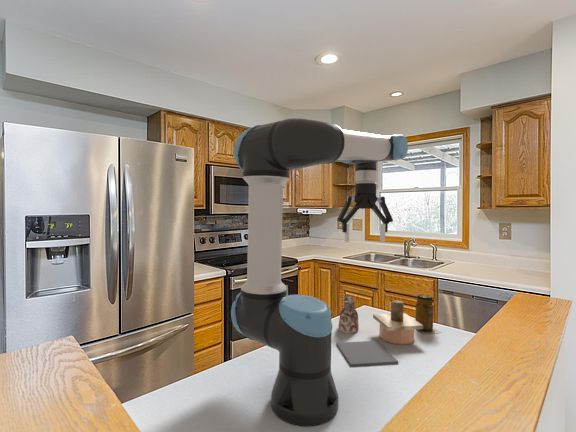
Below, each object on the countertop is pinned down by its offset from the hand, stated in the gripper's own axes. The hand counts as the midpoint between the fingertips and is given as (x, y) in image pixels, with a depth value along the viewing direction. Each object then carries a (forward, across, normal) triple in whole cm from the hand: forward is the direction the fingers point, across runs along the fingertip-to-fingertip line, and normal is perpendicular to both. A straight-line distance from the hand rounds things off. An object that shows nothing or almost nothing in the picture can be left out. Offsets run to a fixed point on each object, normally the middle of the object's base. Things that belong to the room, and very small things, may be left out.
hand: (364, 241), depth 117 cm
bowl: (+32, -8, +10) cm, 34 cm away
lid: (+27, -8, +10) cm, 30 cm away
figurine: (+32, +6, +1) cm, 32 cm away
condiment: (+32, -22, +4) cm, 39 cm away
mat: (+32, +7, +20) cm, 38 cm away
